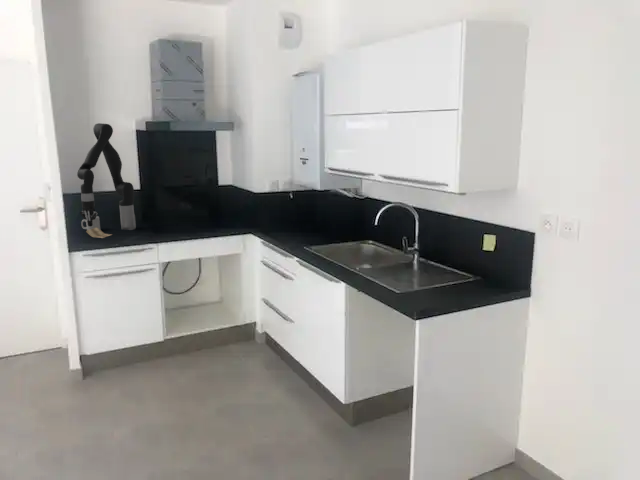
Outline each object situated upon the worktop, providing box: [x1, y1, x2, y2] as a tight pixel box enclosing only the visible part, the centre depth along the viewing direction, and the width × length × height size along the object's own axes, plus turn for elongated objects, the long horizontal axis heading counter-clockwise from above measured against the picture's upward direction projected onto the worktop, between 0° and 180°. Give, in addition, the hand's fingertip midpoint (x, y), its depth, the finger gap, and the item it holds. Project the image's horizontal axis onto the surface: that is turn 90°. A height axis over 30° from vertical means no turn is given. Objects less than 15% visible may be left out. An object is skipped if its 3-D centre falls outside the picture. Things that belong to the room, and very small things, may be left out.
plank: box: [85, 227, 106, 238], centre depth 345 cm, size 10×7×1 cm
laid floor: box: [96, 233, 113, 239], centre depth 345 cm, size 11×14×2 cm
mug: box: [80, 215, 101, 231], centre depth 357 cm, size 12×8×11 cm
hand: (90, 226), depth 343 cm, fingers closed
